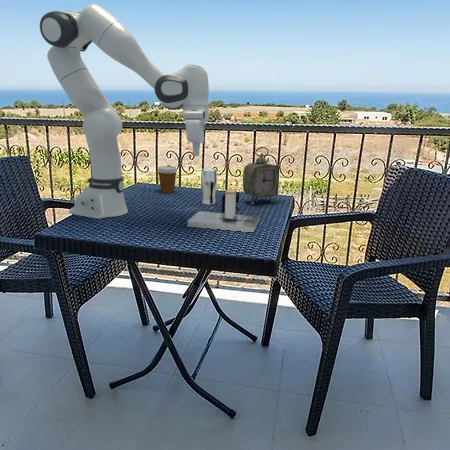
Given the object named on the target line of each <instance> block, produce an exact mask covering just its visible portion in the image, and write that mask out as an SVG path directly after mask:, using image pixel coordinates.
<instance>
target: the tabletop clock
mask: <svg viewBox="0 0 450 450" xmlns="http://www.w3.org/2000/svg"><path fill="white" fill-rule="evenodd" d="M260 149H265V150H266V152H267V153H265V154H263V153H260V154H258V153H257V152H258V150H260ZM254 152H255V153H254V154H255V155H256V156H257V158H256V160H255V162H250V163H247V164H246V165H245V166H244V168H243V173H242V190H243V192H244V194H246V195H249V196H251V199H252V200H251V201H250V205H251V206H253V205H254V204H255V202H256V203H257V202H258V200H259V198H267V197H268V198H269V201H270V203H273V202H274V199H273V198H271V197H273V196H274V195H275V196H276V194H277V192H278V189H279V183H280V170H279V166H278V165H276V164H272V163H268V161H267V159H266V158H265V157H266V156H268V154H269V148H267V147H266V146H260V147H257V148H256V149H255V151H254Z"/></svg>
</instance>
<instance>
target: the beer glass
mask: <svg viewBox="0 0 450 450" xmlns="http://www.w3.org/2000/svg"><path fill="white" fill-rule="evenodd" d="M200 177H201V178H200V181H201V183H200V184H201V190H202V200H201V204H203V205H206V206H211V205H215V204H216V203H217V202H216V189H217V185H218V170H217V169H216V168H202V169H201V176H200Z"/></svg>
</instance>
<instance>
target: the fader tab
mask: <svg viewBox="0 0 450 450" xmlns="http://www.w3.org/2000/svg"><path fill="white" fill-rule="evenodd" d="M236 191H237V189H230V188H228V189H226V190H225V192H224V194H226V195H225V212H224V214H225V215H224V216H223V217H222V219H226V220H236V219H237V218H238V216H235V215H236V208H237V203H236ZM235 207H236V208H235Z"/></svg>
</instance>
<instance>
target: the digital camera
mask: <svg viewBox="0 0 450 450" xmlns="http://www.w3.org/2000/svg"><path fill="white" fill-rule="evenodd" d="M225 195H226V194H225V193H224V194H223V195H222V196H221V197H222V198H221V213H225ZM239 201H240V193H239V192H238V191H237V190H236V204H239ZM236 208H237V206H236V207H235V209H236Z"/></svg>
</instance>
